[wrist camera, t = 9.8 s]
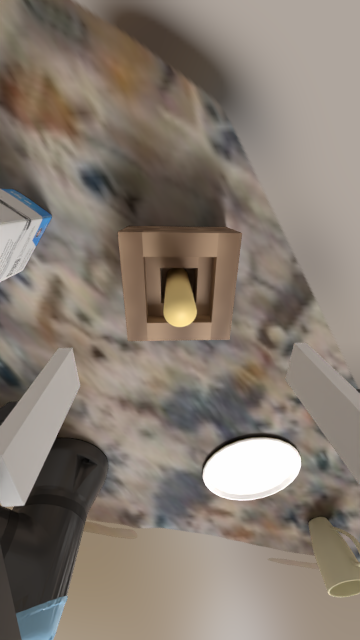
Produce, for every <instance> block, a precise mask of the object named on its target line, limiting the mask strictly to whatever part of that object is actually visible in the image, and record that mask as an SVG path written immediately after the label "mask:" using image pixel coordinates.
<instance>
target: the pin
mask: <svg viewBox="0 0 360 640" xmlns="http://www.w3.org/2000/svg"><path fill="white" fill-rule="evenodd" d="M163 313H164V317H165V319H166V321H167V322H168V323H169V324H171V325H173V326H175V327H185V326H187V325H189V324H191V323H192V322H193V321H194V319H195V317H196V314H197V309H196V305H195V301H194V297H193V293H192V289H191V286H190V282H189V278H188V274H187V272H186V271H185V270H184V269H183V268H172V269H170V270H169V271H168V273H167V277H166V288H165V299H164V311H163Z"/></svg>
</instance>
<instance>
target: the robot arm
mask: <svg viewBox="0 0 360 640" xmlns="http://www.w3.org/2000/svg"><path fill="white" fill-rule="evenodd" d="M285 380H286V381H287V383H288V384H289V385H290V387H291V388H292V390H293V391H294V392H295V394H296V395H297V397H298V398H299V400H300V401H301V402H302V404H303V405H304V407H305V408H306V409H307V411H308V412H309V414H310V415H311V417H312V418H313V419H314V421H315V422H316V424H317V425H318V426H319V428H320V429H321V431H322V432H323V434H324V435H325V436H326V438H327V439H328V441H329V442H330V443H331V445H332V446H333V448H334V449H335V451H336V452H337V453H338V455H339V456H340V458H341V459H342V460H343V462H344V463H345V465H346V466H347V467H348V469H349V470H350V472H351V473H352V475H353V476H354V477H355V479H356V480H357V482H358V483H359V484H360V389H358V390H356V389H355V388H354V387H353V386H352V385H350V384H349V383H348V382H347V381H346V380H345V379H344V378H343V377H342V376H341V375H340V374H339V373H338V372H337V371H336V370H335V369H334V368H333V367H331V366H330V365H329V364H328V363H327V362H326V361H325V360H324V359H323V358H322V357H321V356H320V355H319V354H318V353H317V352H316V351H315V350H314V349H313V348H311V347H310V346H309V345H308V344H307V343H294V347H293V351H292V355H291V359H290V363H289V367H288V371H287V375H286V379H285ZM79 387H80V382H79V377H78V373H77V368H76V363H75V358H74V353H73V348H58V350H57V351H56V352H55V354H54V355H53V356H52V358H51V359H50V360H49V362H48V363H47V364H46V366H45V367H44V368H43V370H42V371H41V372H40V374H39V375H38V376H37V378H36V379H35V380H34V382H33V383H32V384H31V386H30V387H29V388H28V390H27V391H26V392H25V394H24V395H23V396H22V398H21V399H20V401H19V402H9V403H7V404H6V405H5V406H3V407H2V408H1V409H0V503H1V504H2V506H0V640H53V639H54V636H55V634H56V631H57V627H58V624H59V621H60V618H61V615H62V611H63V608H64V605H65V603H66V601H67V598H68V596H67V593H68V589H69V585H70V581H71V577H72V573H73V569H74V565H75V561H76V557H77V553H78V549H79V545H80V541H81V537H82V533H83V529H84V525H85V521H86V518H87V514H88V512H89V510H90V508H91V506H92V504H93V503H94V501H95V499H96V497H97V495H98V494H99V492H100V490H101V488H102V486H103V485H104V482H105V480H106V476H107V471H108V461H107V458H106V457H105V455H104V454H103V453H102V452H101V451H100V450H99V449H98V448H96V447H95V446H93V445H91V444H89V443H87V442H84V441H81V440H77V439H70V438H58V439H56V437H57V434H58V432H59V430H60V428H61V426H62V424H63V422H64V419H65V417H66V415H67V413H68V411H69V409H70V407H71V405H72V402H73V400H74V398H75V396H76V394H77V392H78V390H79ZM7 506H14V507H13V510H10V509H7V508H5V507H7Z"/></svg>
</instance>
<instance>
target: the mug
mask: <svg viewBox="0 0 360 640" xmlns="http://www.w3.org/2000/svg"><path fill="white" fill-rule="evenodd" d="M309 530H310V535H311V541H312V546H313V551H314V554H315V558H316V561H317V564H318V566H319V569H320V571H321V575H322V577H323V580H324V583H325V586H326V588H327V591H328V593H329V595H331V596H334V597H347V596H353V595H356V594H359V593H360V563H359V562H358V561H357V559H356V557H355V556H354V554H353V552H352V551H351V549H350V548H349V546H348V545H347V543H346V542H345V540H344V539H343V538H342V537H341V535H340V534H339V533H338V532H337V531H339V532H341V533H343V534H345V535H346V536H348V537H349V538H350V539H351V540H352V541H353V542H354V544H355V545H356V547H357V549H358V551H359V554H360V543H359V542H358V541H357V540H356V539H355V538H354V537H353V536H352V535H351V534H349V533H347V532H345V531H343V530H341V529H339V528H336V527H333V526H332V525H331V523H330V522H329V521H328V520H327V519H326V518H325V517H317V518H314V519H312V520H311V521H310V522H309ZM336 530H337V531H336Z"/></svg>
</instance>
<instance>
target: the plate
mask: <svg viewBox="0 0 360 640" xmlns="http://www.w3.org/2000/svg"><path fill="white" fill-rule="evenodd" d="M300 467H301V457H300V455H299V453H298V451H297V450H296V448H294V447H293V446H292V445H291V444H289V443H288V442H285V441H283V440H280V439H277V438H271V437H250V438H245V439H241V440H237V441H235V442H232V443H230V444H227V445H225V446H224V447H222V448H221V449H219V450H218V451H216V452H215V453H214V454H213V455H212V456H211V457H210V458H209V459H208V460H207V462H206V464H205V466H204V468H203V480H204V483H205V485H206V486H207V487H208V489H209V490H210V491H211V492H213V493H215V494H216V495H218V496H220V497H223V498H227V499H231V500H254V499H259V498H264V497H266V496H269V495H272V494H275V493H276V492H278V491H280V490H282V489H284V488H285V487H286V486H288V485H289V484H290V483H291V482H292V481H293V480H294V479H295V477H296V476H297V475H298V473H299V470H300Z"/></svg>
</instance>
